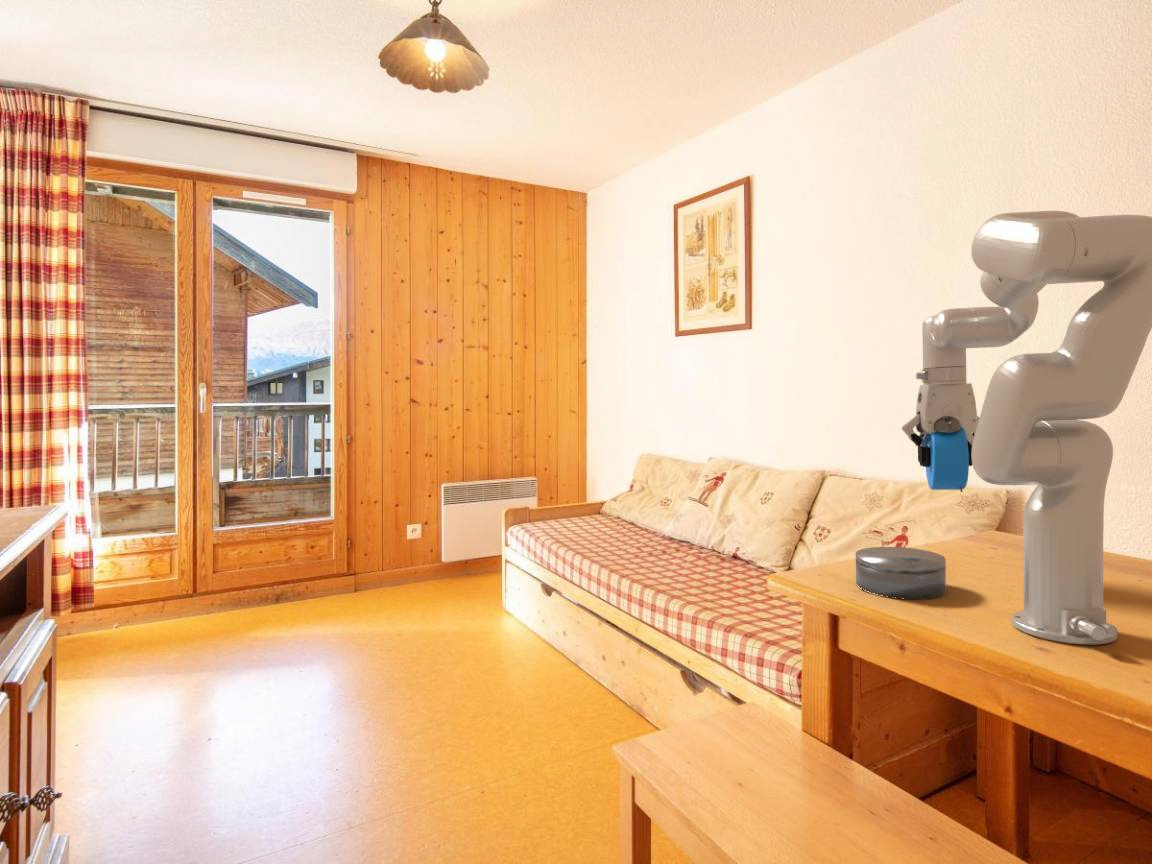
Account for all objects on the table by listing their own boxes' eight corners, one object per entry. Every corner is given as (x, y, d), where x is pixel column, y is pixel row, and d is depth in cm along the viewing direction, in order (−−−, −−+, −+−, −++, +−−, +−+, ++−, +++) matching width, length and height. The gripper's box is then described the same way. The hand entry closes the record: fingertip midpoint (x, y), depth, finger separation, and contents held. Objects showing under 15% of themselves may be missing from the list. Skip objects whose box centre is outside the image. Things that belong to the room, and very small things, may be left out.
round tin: (962, 599, 112) (962, 565, 112) (874, 600, 114) (873, 566, 113) (922, 576, 127) (922, 546, 127) (844, 577, 128) (844, 547, 128)
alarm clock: (970, 494, 122) (968, 414, 122) (933, 493, 124) (931, 416, 124) (957, 486, 134) (955, 415, 134) (924, 486, 136) (922, 416, 136)
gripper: (907, 378, 125) (908, 468, 126) (1001, 374, 124) (1002, 466, 125) (891, 379, 133) (893, 465, 133) (979, 376, 131) (980, 463, 132)
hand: (945, 465), depth 129 cm, fingers closed on alarm clock, 7 cm apart
